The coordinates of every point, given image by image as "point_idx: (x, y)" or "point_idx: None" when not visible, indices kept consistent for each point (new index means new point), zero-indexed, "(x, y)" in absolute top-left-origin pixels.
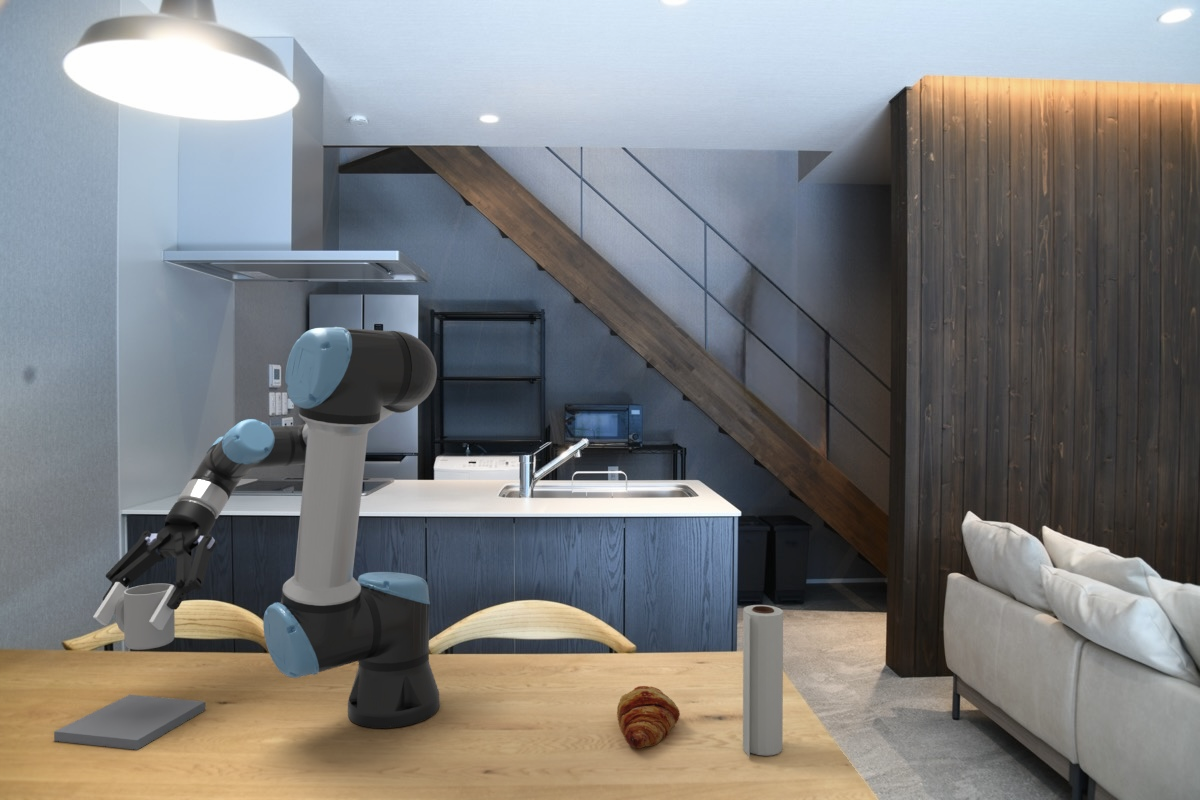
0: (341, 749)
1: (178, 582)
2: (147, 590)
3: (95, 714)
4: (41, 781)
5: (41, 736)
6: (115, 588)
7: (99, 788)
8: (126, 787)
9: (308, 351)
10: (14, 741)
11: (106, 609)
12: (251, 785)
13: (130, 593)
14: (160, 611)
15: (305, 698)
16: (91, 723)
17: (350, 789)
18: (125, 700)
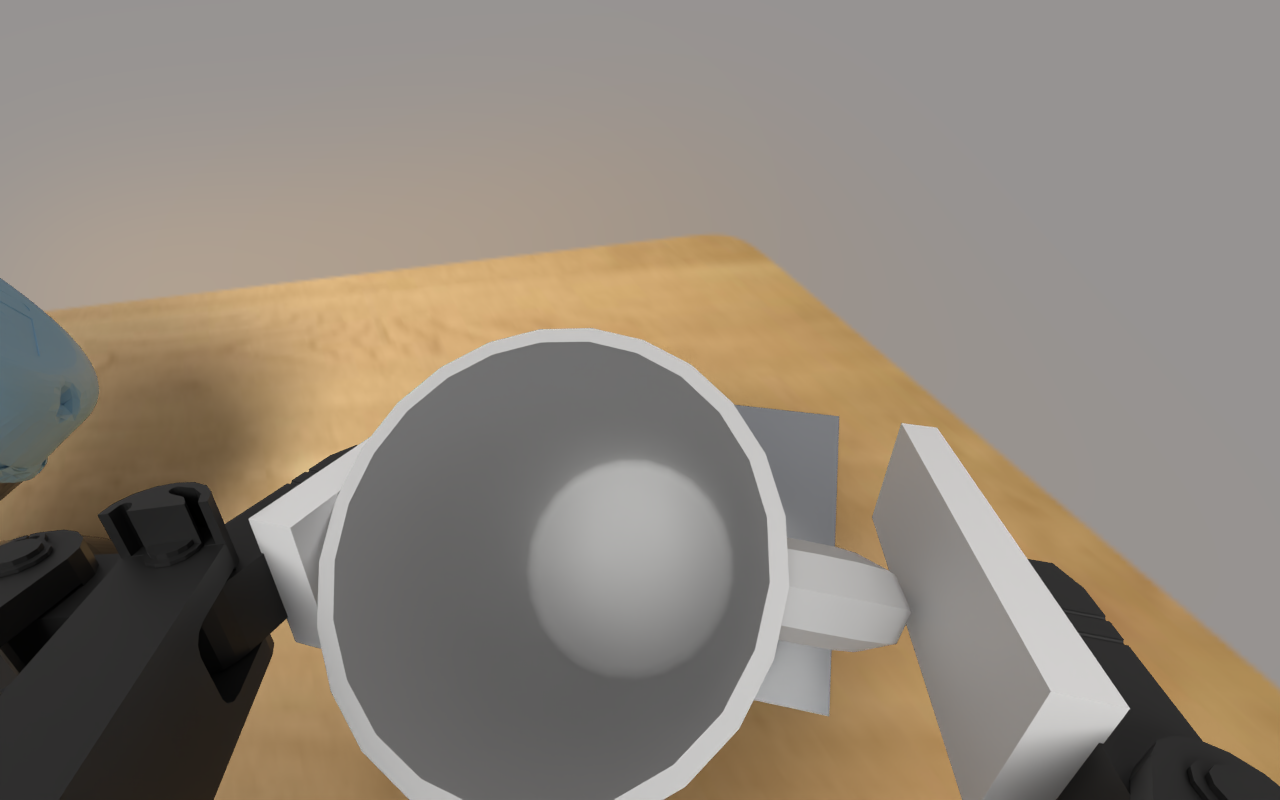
0: (174, 435)
1: (156, 487)
2: (683, 738)
3: (814, 532)
4: (701, 263)
5: None
6: (1001, 604)
7: (573, 255)
8: (526, 263)
9: None
10: (940, 415)
11: (914, 501)
12: (316, 293)
13: (760, 552)
14: None
15: (273, 758)
16: (775, 471)
17: (161, 300)
18: (803, 655)
